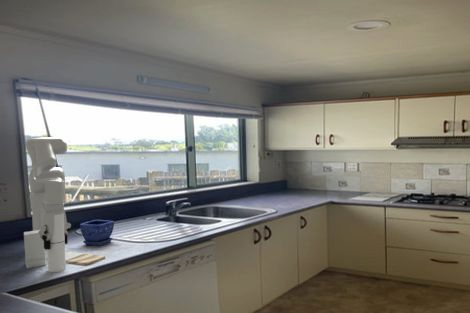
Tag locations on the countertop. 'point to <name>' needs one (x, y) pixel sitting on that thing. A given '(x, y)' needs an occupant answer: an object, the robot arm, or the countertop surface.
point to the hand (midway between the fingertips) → (56, 246)
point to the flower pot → (97, 232)
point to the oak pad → (86, 259)
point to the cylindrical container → (57, 246)
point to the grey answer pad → (71, 255)
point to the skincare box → (34, 249)
